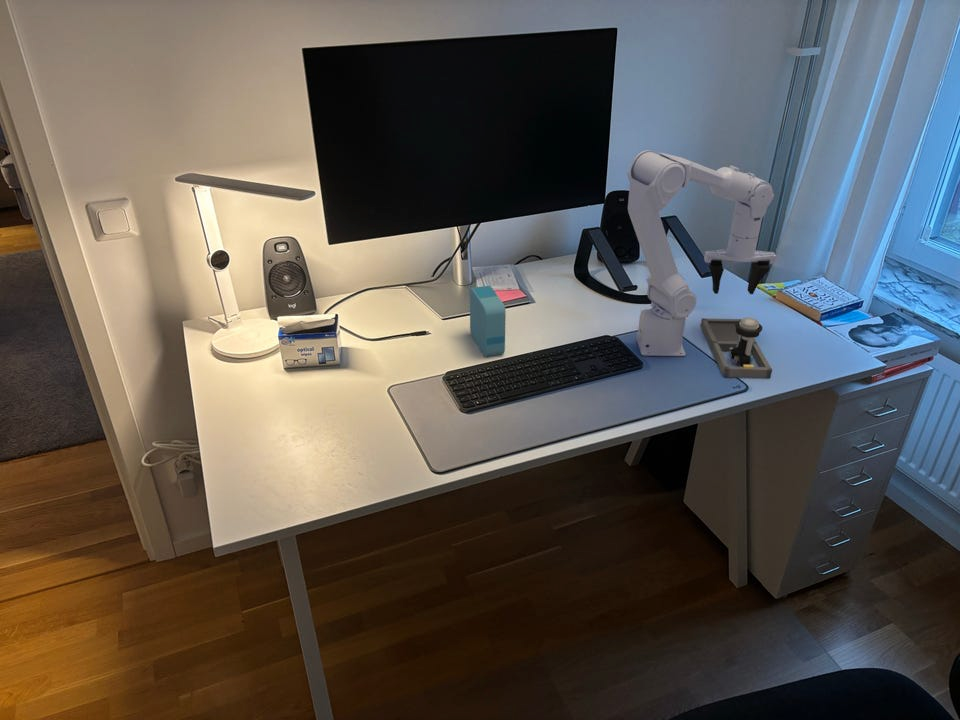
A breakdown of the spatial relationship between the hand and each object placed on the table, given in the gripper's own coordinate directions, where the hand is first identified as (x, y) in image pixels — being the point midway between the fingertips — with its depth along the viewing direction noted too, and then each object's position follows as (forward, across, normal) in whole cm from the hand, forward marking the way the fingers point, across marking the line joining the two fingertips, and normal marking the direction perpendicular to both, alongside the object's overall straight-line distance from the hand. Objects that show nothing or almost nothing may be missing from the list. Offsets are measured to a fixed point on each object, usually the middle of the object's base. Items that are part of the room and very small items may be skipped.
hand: (732, 292), depth 162 cm
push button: (+11, 0, +12) cm, 16 cm away
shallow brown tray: (+10, 0, +8) cm, 13 cm away
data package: (+11, +54, +7) cm, 55 cm away
